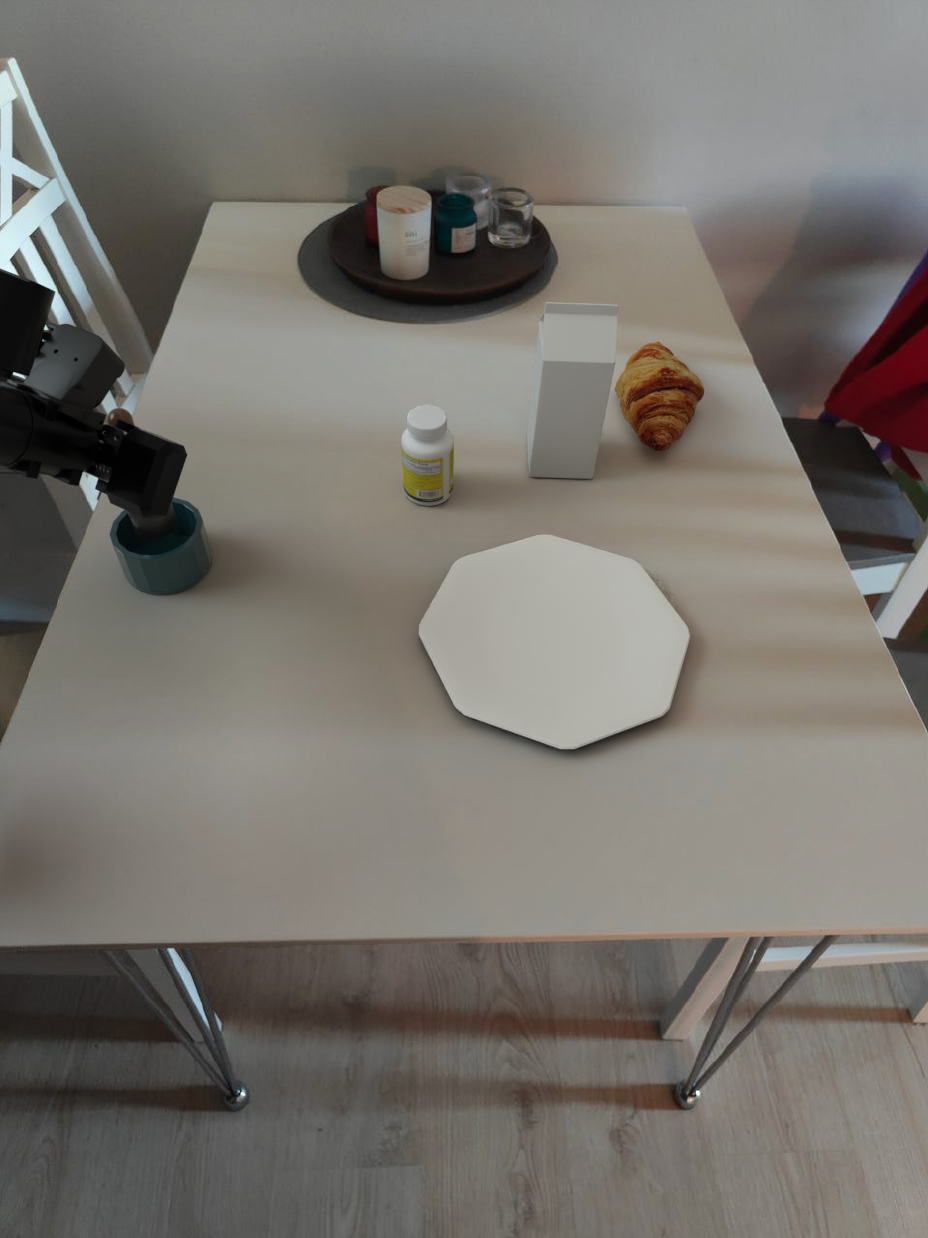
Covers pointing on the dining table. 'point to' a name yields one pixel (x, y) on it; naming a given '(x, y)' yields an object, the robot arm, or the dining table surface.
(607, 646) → the plate
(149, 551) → the teal faceted cup
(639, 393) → the croissant
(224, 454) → the dining table surface
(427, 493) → the supplement bottle
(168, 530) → the coffee tamper
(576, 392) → the milk carton
